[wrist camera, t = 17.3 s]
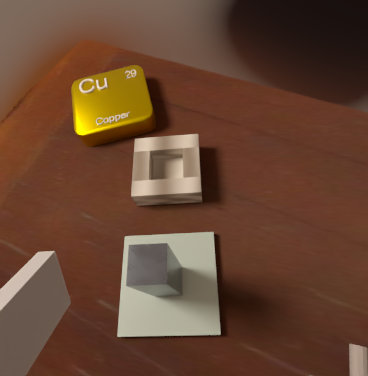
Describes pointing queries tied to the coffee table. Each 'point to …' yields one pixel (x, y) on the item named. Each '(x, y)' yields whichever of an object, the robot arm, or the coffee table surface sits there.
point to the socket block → (166, 170)
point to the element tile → (112, 106)
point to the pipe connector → (358, 360)
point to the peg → (154, 270)
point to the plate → (174, 305)
